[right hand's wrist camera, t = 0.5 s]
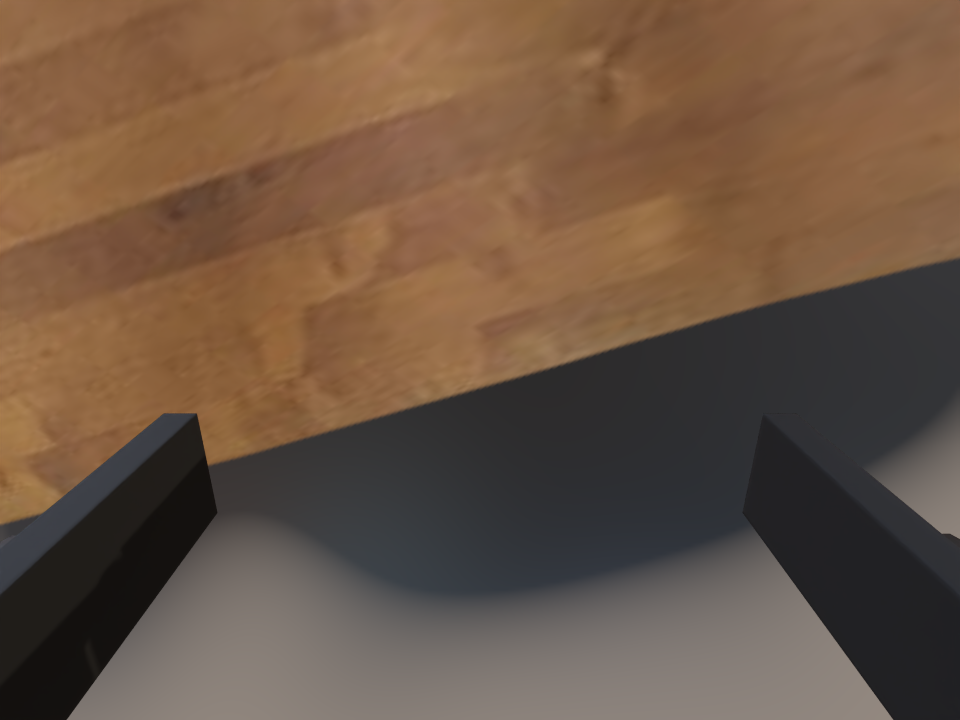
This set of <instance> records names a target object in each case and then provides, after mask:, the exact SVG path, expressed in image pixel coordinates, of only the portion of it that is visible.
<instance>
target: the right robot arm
mask: <svg viewBox="0 0 960 720" xmlns="http://www.w3.org/2000/svg"><path fill="white" fill-rule="evenodd" d="M216 514H217V509H216V504H215V499H214V494H213V489H212V484H211V479H210V475H209V470H208V465H207V460H206V455H205V450H204V446H203V441H202V436H201V431H200V426H199V422H198V417H197V414H163V415H161V416H160V417H159V418H158V419H157V420H155V421H154V422H153V423H152V424H151V425H149V426H148V427H147V428H146V429H145V430H143V431H142V432H141V433H140V434H138V435H137V436H136V437H135V438H134V439H132V440H131V441H130V442H129V443H128V444H126V445H125V446H124V447H123V448H122V449H120V450H119V451H118V452H117V453H115V454H114V455H113V456H112V457H111V458H109V459H108V460H107V461H106V462H105V463H103V464H102V465H101V466H100V467H99V468H97V469H96V470H95V471H94V472H92V473H91V474H90V475H89V476H88V477H86V478H85V479H84V480H83V481H82V482H80V483H79V484H78V485H77V486H76V487H74V488H73V489H72V490H71V491H69V492H68V493H67V494H66V495H65V496H63V497H62V498H61V499H60V500H59V501H57V502H56V503H55V504H54V505H53V506H51V507H50V508H49V509H48V510H46V511H45V512H44V513H43V514H42V515H40V516H39V517H38V518H37V519H36V520H34V521H33V522H32V523H31V524H30V525H28V526H27V527H26V528H25V529H23V530H22V531H21V532H20V533H19V534H17V535H16V536H9V537H8V538H6V539H4V540H2V541H0V720H67V718H68V717H69V716H70V714H71V713H72V712H73V710H74V709H75V707H76V706H77V705H78V703H79V702H80V701H81V699H82V698H83V696H84V695H85V694H86V692H87V691H88V690H89V688H90V687H91V685H92V684H93V683H94V681H95V680H96V679H97V677H98V676H99V675H100V673H101V672H102V670H103V669H104V668H105V666H106V665H107V664H108V662H109V661H110V659H111V658H112V657H113V655H114V654H115V652H116V651H117V650H118V648H119V647H120V646H121V644H122V643H123V642H124V640H125V639H126V637H127V636H128V635H129V633H130V632H131V631H132V629H133V628H134V626H135V625H136V624H137V622H138V621H139V620H140V618H141V617H142V616H143V614H144V613H145V611H146V610H147V609H148V607H149V606H150V604H151V603H152V602H153V600H154V599H155V598H156V596H157V595H158V594H159V592H160V591H161V589H162V588H163V587H164V585H165V584H166V583H167V581H168V580H169V578H170V577H171V576H172V574H173V573H174V572H175V570H176V569H177V567H178V566H179V565H180V563H181V562H182V561H183V559H184V558H185V556H186V555H187V554H188V552H189V551H190V550H191V548H192V547H193V545H194V544H195V543H196V541H197V540H198V539H199V537H200V536H201V535H202V533H203V532H204V530H205V529H206V528H207V526H208V525H209V523H210V522H211V521H212V519H213V518H214V517H215V515H216ZM743 514H744V515H745V517H746V518H747V519H748V521H749V522H750V524H751V525H752V526H753V528H754V529H755V530H756V532H757V533H758V535H759V536H760V537H761V539H762V540H763V541H764V543H765V544H766V545H767V547H768V548H769V550H770V551H771V552H772V554H773V555H774V556H775V558H776V559H777V561H778V562H779V563H780V565H781V566H782V567H783V569H784V570H785V572H786V573H787V574H788V576H789V577H790V578H791V580H792V581H793V583H794V584H795V585H796V587H797V588H798V589H799V591H800V592H801V594H802V595H803V596H804V598H805V599H806V600H807V602H808V603H809V604H810V606H811V607H812V609H813V610H814V611H815V613H816V614H817V615H818V617H819V618H820V620H821V621H822V622H823V624H824V625H825V626H826V628H827V629H828V631H829V632H830V633H831V635H832V636H833V637H834V639H835V640H836V642H837V643H838V644H839V646H840V647H841V648H842V650H843V651H844V653H845V654H846V655H847V657H848V658H849V659H850V661H851V662H852V664H853V665H854V666H855V668H856V669H857V670H858V672H859V673H860V674H861V676H862V677H863V679H864V680H865V681H866V683H867V684H868V686H869V687H870V688H871V690H872V691H873V692H874V694H875V695H876V696H877V698H878V699H879V701H880V702H881V703H882V705H883V706H884V707H885V709H886V710H887V712H888V713H889V714H890V716H891V717H892V718H893V720H960V539H958V538H957V537H955V536H953V535H951V534H941V533H940V532H939V531H938V530H936V529H935V528H934V527H933V526H932V525H930V524H929V523H928V522H927V521H926V520H924V519H923V518H922V517H921V516H920V515H918V514H917V513H916V512H915V511H914V510H912V509H911V508H910V507H909V506H907V505H906V504H905V503H904V502H903V501H901V500H900V499H899V498H898V497H897V496H895V495H894V494H893V493H892V492H891V491H889V490H888V489H887V488H886V487H884V486H883V485H882V484H881V483H880V482H878V481H877V480H876V479H875V478H874V477H872V476H871V475H870V474H869V473H867V472H866V471H865V470H864V469H863V468H861V467H860V466H859V465H858V464H857V463H855V462H854V461H853V460H852V459H851V458H849V457H848V456H847V455H846V454H845V453H843V452H842V451H841V450H840V449H838V448H837V447H836V446H835V445H834V444H832V443H831V442H830V441H829V440H828V439H826V438H825V437H824V436H823V435H821V434H820V433H819V432H818V431H817V430H815V429H814V428H813V427H812V426H811V425H809V424H808V423H807V422H806V421H805V420H803V419H802V418H801V417H800V416H799V415H797V414H763V417H762V422H761V426H760V431H759V436H758V441H757V446H756V450H755V455H754V460H753V465H752V470H751V475H750V479H749V485H748V489H747V494H746V499H745V504H744V508H743Z"/></svg>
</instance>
